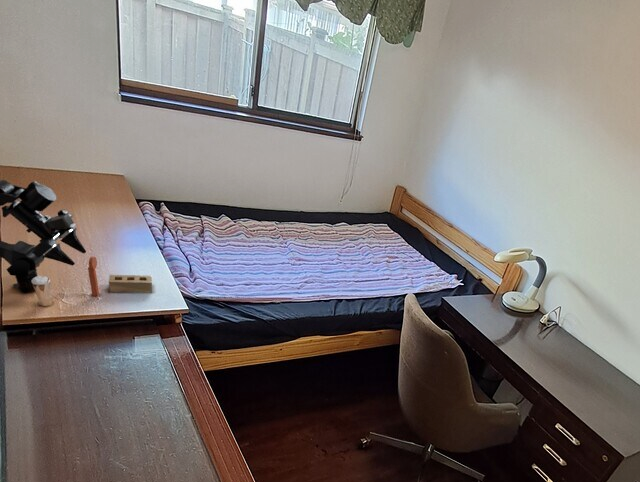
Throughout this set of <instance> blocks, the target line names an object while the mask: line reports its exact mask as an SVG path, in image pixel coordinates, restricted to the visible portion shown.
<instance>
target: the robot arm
mask: <svg viewBox="0 0 640 482" xmlns="http://www.w3.org/2000/svg"><path fill="white" fill-rule="evenodd" d="M19 200H20V201H19ZM56 201H57V195H56V193H55V192H54V191H53V190H52V189H51V188H50V187H47V186H46V185H44V184H41V183H39V182H37V181H36V180H33V181H31V182H30V183H29V184H28V185H27V187H26V188H25V187H22V186H19V185H15V184H13V183H12V184H11V183H10V182H8V181H7V180H5V179H0V207H1V212H2V213H1V214H2V217H3V218H7V217H8V216H12V217H14V219H16V220H17V221H18V222H19V223H21V224H22V225H23V226H24V227H26V228H27V229H25V231H26V232H27V233H29V234H30V233H33V234H34V235H36V237H38V238H39V243H37V244H30V243H27V242H26V241H23V240H18V241H17V242H15V243H8V242H6V241H2V240H0V258H2V259H4V260H5V261H6V262H7V263H8V265H10V266H8V267H7V268H6V271H7V273H8V275H10V276H14V277H15V281H16V283H13V284H12V286H13V287H14V288H15V289H16V290H18V291H19V292H20V293H22V294H24V295H25V294H29V293H33V292H35V289H34V287H33V284H32V282H31V281H32V279H33V278H34V277H37V276H39V274H38V270H37V268H38V267H40V265H41V264H42V263H43V262H44V261H45V258H46V259H49V260H53V261H56V262H60V263H62V264H66V265H69V266H72V267H73V266H75V265H76V262H75V261H73V259H72V258H71V257H70V256H69V255H68V254H67V253H65V252H64V251H63V250H62V247H61V244H60V242H61V243H64V244H65V245H67V246H68V247H70V248H73V249H74V250H76V251H78V252H80V253H81V254H86V253H87V250H86V248H85V247H84V246H83V244H82V242H81V241H80V239H79V238H78V236H77V227H76V226H77V224H76V223H75V222H74V221H73V214H72V213H70V212H69V211H68V210H66V209H63V208H62V209H60V210H59V211H57V215H55V216H52V217H51V216H50V215H49V214H44V215H43V214H42V213H41V212H43V211H45V210H46V209H48V207H49V206H51V205H52V204H53V203H54V202H56ZM6 204H9V205H6ZM59 239H60V240H59ZM58 240H59V241H60V242H59V243H57V241H58Z"/></svg>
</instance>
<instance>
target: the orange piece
mask: <svg viewBox="0 0 640 482" xmlns="http://www.w3.org/2000/svg"><path fill="white" fill-rule="evenodd" d="M97 266H98V260H97V257H96V256H90V257H89V259H88V267H87V270H88V271H87V272H88V277H89V283H90V289H91V296H92V297H99V295H100V291H99V284H98V278H97V277H98V276H97V270H96V269H97Z"/></svg>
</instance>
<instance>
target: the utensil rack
mask: <svg viewBox="0 0 640 482" xmlns="http://www.w3.org/2000/svg"><path fill="white" fill-rule="evenodd" d="M108 288H109V293H135V294H136V293H137V294H138V293H139V294H140V293H141V294H142V293H145V294H146V293H147V294H148V293H150V294H151V293H153V279H152V275H140V274H136V275H135V274H134V275H133V274H109V278H108Z"/></svg>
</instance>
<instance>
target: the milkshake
mask: <svg viewBox="0 0 640 482" xmlns="http://www.w3.org/2000/svg"><path fill="white" fill-rule="evenodd" d="M31 282H32V284H33V287H34V289H35V291H34V292H35V294H36V298H37V300H38V303H39V305H40V306H43V307H48V306H51V305H52V304H53V297H52V288H51V279H50V277H47V276H44V275H38V276H37V277H34V278H33V279H32V281H31Z"/></svg>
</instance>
